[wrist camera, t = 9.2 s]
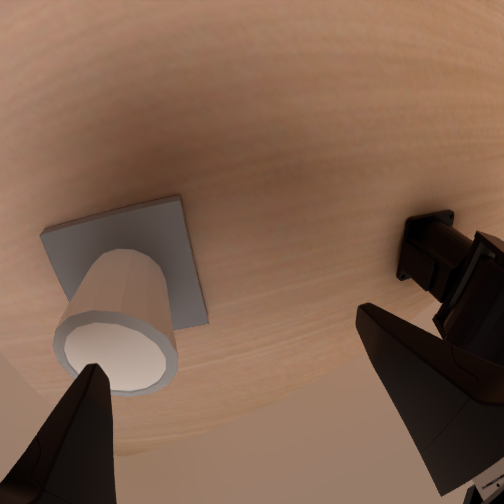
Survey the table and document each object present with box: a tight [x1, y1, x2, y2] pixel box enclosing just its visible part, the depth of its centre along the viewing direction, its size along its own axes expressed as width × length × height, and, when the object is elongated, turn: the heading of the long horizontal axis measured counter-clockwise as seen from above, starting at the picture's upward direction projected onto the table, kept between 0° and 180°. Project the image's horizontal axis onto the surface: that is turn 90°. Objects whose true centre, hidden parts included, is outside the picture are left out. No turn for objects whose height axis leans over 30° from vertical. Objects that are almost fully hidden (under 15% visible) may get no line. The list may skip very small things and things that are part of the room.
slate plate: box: [40, 195, 209, 330], centre depth 19 cm, size 10×10×1 cm
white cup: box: [53, 249, 178, 397], centre depth 16 cm, size 7×7×7 cm
